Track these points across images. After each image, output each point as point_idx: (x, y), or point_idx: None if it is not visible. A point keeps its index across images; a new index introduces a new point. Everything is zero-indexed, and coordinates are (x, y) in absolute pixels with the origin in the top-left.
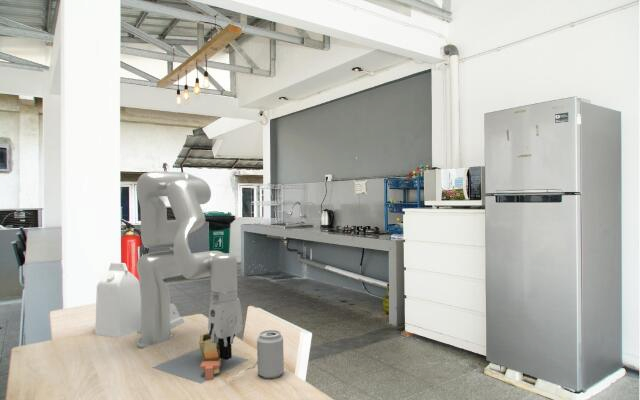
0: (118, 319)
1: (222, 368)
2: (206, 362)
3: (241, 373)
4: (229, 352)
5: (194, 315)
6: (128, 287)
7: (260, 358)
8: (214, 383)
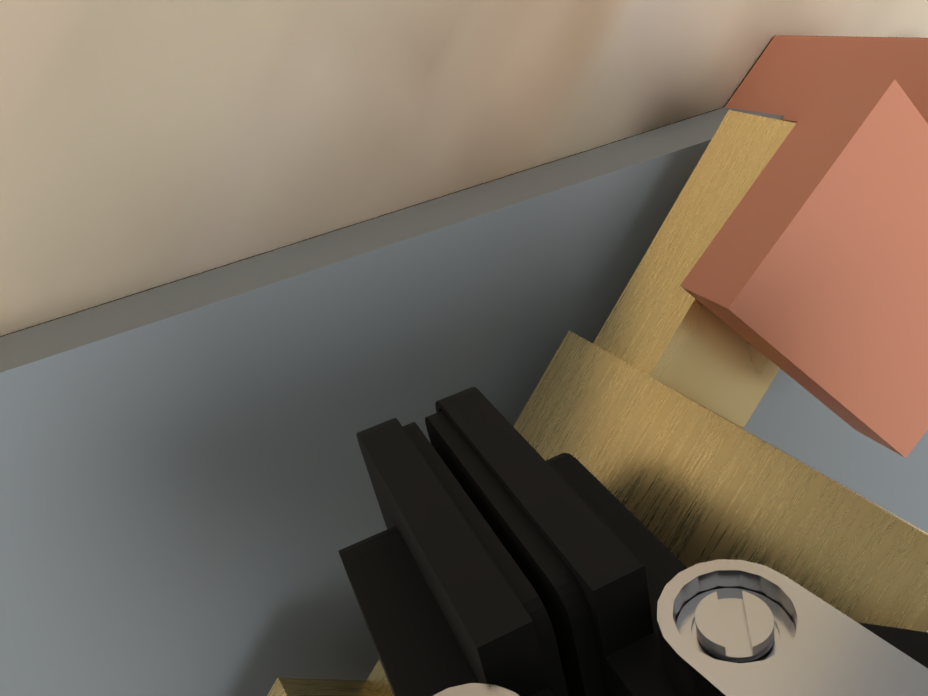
0: None
1: (510, 334)
2: (902, 377)
3: (221, 81)
4: (461, 493)
5: None
6: None
7: None
8: (734, 66)
